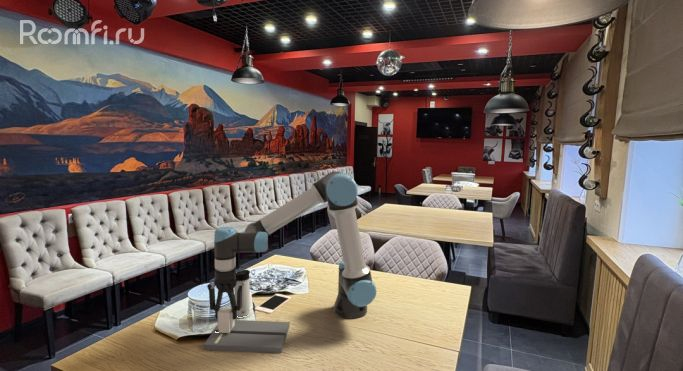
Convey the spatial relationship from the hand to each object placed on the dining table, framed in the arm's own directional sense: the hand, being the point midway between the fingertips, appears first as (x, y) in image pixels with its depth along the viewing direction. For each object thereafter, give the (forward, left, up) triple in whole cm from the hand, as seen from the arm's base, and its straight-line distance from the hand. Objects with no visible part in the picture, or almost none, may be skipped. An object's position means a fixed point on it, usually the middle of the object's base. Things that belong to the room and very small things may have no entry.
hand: (226, 326), depth 133 cm
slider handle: (0, 0, -4) cm, 4 cm away
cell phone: (-12, -29, -5) cm, 32 cm away
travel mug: (-1, -17, -4) cm, 18 cm away
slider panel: (-9, 0, -4) cm, 10 cm away
